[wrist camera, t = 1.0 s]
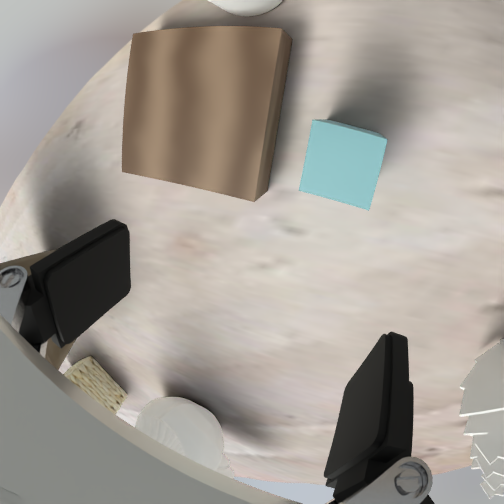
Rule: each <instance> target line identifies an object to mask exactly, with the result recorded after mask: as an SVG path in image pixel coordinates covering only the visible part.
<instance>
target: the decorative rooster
mask: <svg viewBox="0 0 504 504" xmlns="http://www.w3.org/2000/svg"><path fill="white" fill-rule="evenodd" d="M135 428H136V429H138V430H139V431H141V432H142V433H144V434H146V435H147V436H149V437H151V438H152V439H154V440H156V441H158V442H159V443H161V444H163V445H164V446H166V447H168V448H170V449H172V450H173V451H175V452H177V453H179V454H181V455H183V456H185V457H187V458H189V459H191V460H193V461H195V462H197V463H199V464H201V465H203V466H205V467H207V468H209V469H211V470H214V471H216V472H218V473H220V474H223V475H225V476H227V477H230V478H232V479H234V470H233V469H232V468H231V467H230V466H229V465H230V460H229V458H228V457H227V456H226V455H225V454H223V450H224V440H223V433H222V429H221V426H220V424H219V422H218V420H217V419H216V417H215V416H214V415H213V414H212V413H211V412H210V411H208V410H207V409H205V408H204V407H202V406H200V405H198V404H196V403H194V402H192V401H190V400H188V399H185V398H181V397H163V398H157V399H154V400H152V401H151V402H149V403H148V404H147V405H146V406H145V407H144V408H143V409H142V411H141V413H140V414H139V415H138V418H137V421H136V425H135Z"/></svg>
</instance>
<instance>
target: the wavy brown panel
mask: <svg viewBox="0 0 504 504" xmlns="http://www.w3.org/2000/svg"><path fill="white" fill-rule="evenodd" d="M291 45H292V38H291V37H290V36H289V35H288V34H287V33H286V32H285V31H284V30H283V29H282V28H270V27H251V26H205V27H187V28H174V29H164V30H156V31H148V32H141V33H135V34H133V38H132V44H131V51H130V58H129V66H128V74H127V83H126V94H125V106H124V120H123V141H122V172H125V173H130V174H135V175H140V176H145V177H150V178H154V179H159V180H164V181H168V182H173V183H177V184H182V185H186V186H191V187H195V188H199V189H204V190H208V191H212V192H216V193H220V194H224V195H229V196H233V197H237V198H241V199H245V200H249V201H252V202H255V201H256V200H257V199H258V198H260V197H261V196H262V195H263V194H265V193H266V192H267V189H268V184H269V178H270V172H271V166H272V160H273V154H274V148H275V142H276V136H277V130H278V124H279V118H280V112H281V106H282V100H283V94H284V88H285V82H286V75H287V69H288V63H289V57H290V51H291Z"/></svg>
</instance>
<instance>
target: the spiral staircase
mask: <svg viewBox="0 0 504 504" xmlns="http://www.w3.org/2000/svg"><path fill="white" fill-rule="evenodd" d="M475 362H476V364H475V366H474V367H473V369H472V370H471V371H470V373H469V374H468V376H467V377H466V378H465V380H464V381H463V382H462V384H461V385H460V389H463V390H464V395H463V400H462V405H461V410H460V414H459V415H460V417H462V416H469V418H468V421H467V424H466V428H465V431H464V435H470V436H473V441H472V448H471V455H470V459H472V458H473V462H472V466H471V469H478V468H481V470H482V472H483V475H481V476H482V478H483V479H484V480H485V481H483V482H482V483H481V484H480V486H481V487H482V488H483V490H484V491H485V493H486V494H487V496H488V497H489V499H491V498H492V497H493V496H495V495H500V496H504V339H501V340H500V344H499V343H497V344H496V345H495V346H493V347H492V348H491V349H489V350H488V351H487V352H485V353H484V354H482V355H481V356H479V357H478V358H477V359H475Z"/></svg>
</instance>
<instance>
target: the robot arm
mask: <svg viewBox="0 0 504 504" xmlns="http://www.w3.org/2000/svg"><path fill="white" fill-rule="evenodd" d="M30 271H31V275H29V276H28V274H27V270H26V269H25V268H24V267H21V266H17V265H15V266H9V267H6V268H4V269H2V270H1V271H0V504H302V503H299V502H295V501H292V500H288V499H285V498H283V497H280V496H277V495H274V494H271V493H268V492H265V491H262V490H260V489H257V488H254V487H252V486H249V485H247V484H244V483H242V482H239V481H237V480H234V479H232V478H230V477H227V476H225V475H223V474H220V473H218V472H216V471H214V470H211V469H209V468H207V467H205V466H203V465H201V464H199V463H197V462H195V461H193V460H191V459H189V458H187V457H185V456H183V455H181V454H179V453H177V452H175V451H173V450H172V449H170V448H168V447H166V446H164V445H163V444H161V443H159V442H158V441H156V440H154V439H152V438H151V437H149V436H147V435H146V434H144V433H142V432H141V431H139V430H138V429H136V428H134V427H133V426H131V425H130V424H128V423H127V422H125V421H124V420H122V419H121V418H119V417H118V416H116V415H115V414H113V413H112V412H111V411H109V410H108V409H106V408H105V407H104V406H102V405H101V404H99V403H98V402H97V401H95V400H94V399H93V398H91V397H90V396H89V395H88V394H86V393H85V392H84V391H82V390H81V389H80V388H79V387H77V386H76V385H75V384H74V383H73V382H71V381H70V380H69V379H68V378H67V377H65V376H64V375H63V374H62V373H61V372H59V371H58V370H57V369H56V368H55V367H54V366H53V365H52V364H50V363H49V362H48V361H47V360H46V359H45V354H46V348H47V342H48V339H49V338H50V337H51V339H52V341H53V342H54V343H55V344H56V345H57V346H58V347H60V348H63V347H64V346H65V345H66V344H70V343H72V342H73V341H74V340H75V339H76V338H77V337H79V336H80V335H81V334H82V333H83V332H84V331H85V330H87V329H88V328H89V327H90V326H91V325H92V324H93V323H95V322H96V321H97V320H98V319H99V318H100V317H102V316H103V315H104V314H105V313H106V312H107V311H109V310H110V309H111V308H112V307H113V306H114V305H116V304H117V303H118V302H119V301H120V300H122V299H123V298H124V297H125V296H126V295H127V294H128V293H129V291H130V288H131V280H130V234H129V230H128V228H127V225H125V224H124V223H121V222H119V221H117V220H114V219H112V220H110V221H108V222H106V223H104V224H102V225H100V226H98V227H97V228H95V229H93V230H91V231H89V232H87V233H86V234H84V235H82V236H80V237H78V238H77V239H75V240H73V241H71V242H70V243H68V244H66V245H64V246H63V247H61V248H59V249H58V250H56V251H54V252H53V253H51V254H49V255H48V256H46V257H44V258H43V259H41V260H39V261H38V262H36V263H34V264H33V265H31V266H30ZM412 436H413V384H412V382H410V381H409V361H408V340H407V337H405V336H402V335H400V334H397V333H394V332H390V333H389V334H388V335H386V334H383V335H382V336H381V337H380V339H379V340H378V342H377V343H376V345H375V346H374V348H373V349H372V351H371V352H370V353H369V355H368V356H367V358H366V359H365V361H364V362H363V363H362V365H361V366H360V367H359V369H358V370H357V372H356V373H355V374H354V376H353V377H352V378H351V380H350V381H349V382H348V384H347V386H346V388H345V391H344V395H343V400H342V404H341V409H340V413H339V418H338V422H337V426H336V430H335V434H334V438H333V442H332V446H331V450H330V454H329V457H328V461H327V464H326V468H325V471H324V477H325V478H328V479H327V482H326V486H328V487H332V488H335V490H334V493H333V497H334V499H332V500H330V501H329V502H327V503H326V504H434V502H433V501H432V500H431V498H430V497H429V495H428V493H429V492H430V490H431V487H432V474H431V470H430V468H429V467H428V465H427V464H426V463H425V462H424V461H423V460H421V459H419V458H416V457H411V452H412Z"/></svg>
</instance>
